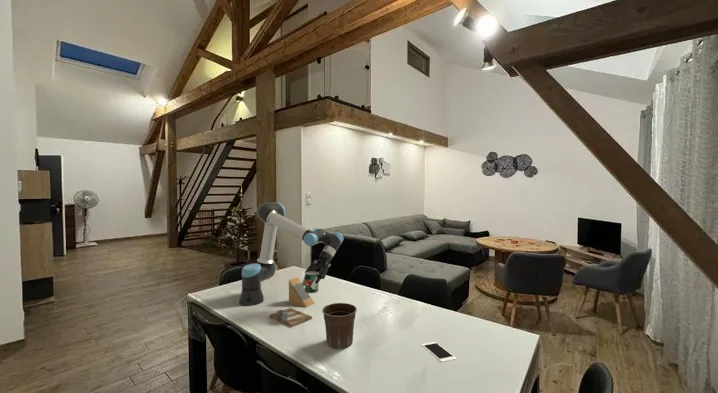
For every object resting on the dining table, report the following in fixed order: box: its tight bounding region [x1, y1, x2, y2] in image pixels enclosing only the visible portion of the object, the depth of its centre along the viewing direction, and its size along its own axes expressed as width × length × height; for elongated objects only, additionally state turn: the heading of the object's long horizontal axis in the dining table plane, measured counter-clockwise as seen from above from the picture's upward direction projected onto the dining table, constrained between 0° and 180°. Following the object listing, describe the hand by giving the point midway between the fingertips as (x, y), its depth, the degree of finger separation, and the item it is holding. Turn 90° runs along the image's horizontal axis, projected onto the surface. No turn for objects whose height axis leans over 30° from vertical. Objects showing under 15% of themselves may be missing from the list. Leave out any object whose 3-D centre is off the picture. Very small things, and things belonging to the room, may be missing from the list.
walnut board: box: [269, 307, 313, 328], centre depth 175 cm, size 20×14×6 cm
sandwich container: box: [288, 277, 316, 308], centre depth 199 cm, size 9×15×15 cm, turn 59°
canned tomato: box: [304, 270, 319, 294], centre depth 183 cm, size 8×8×11 cm
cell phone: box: [421, 341, 457, 363], centre depth 139 cm, size 8×16×1 cm, turn 21°
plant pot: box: [321, 302, 357, 350], centre depth 146 cm, size 16×16×16 cm
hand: (307, 286), depth 180 cm, fingers closed on canned tomato, 8 cm apart
